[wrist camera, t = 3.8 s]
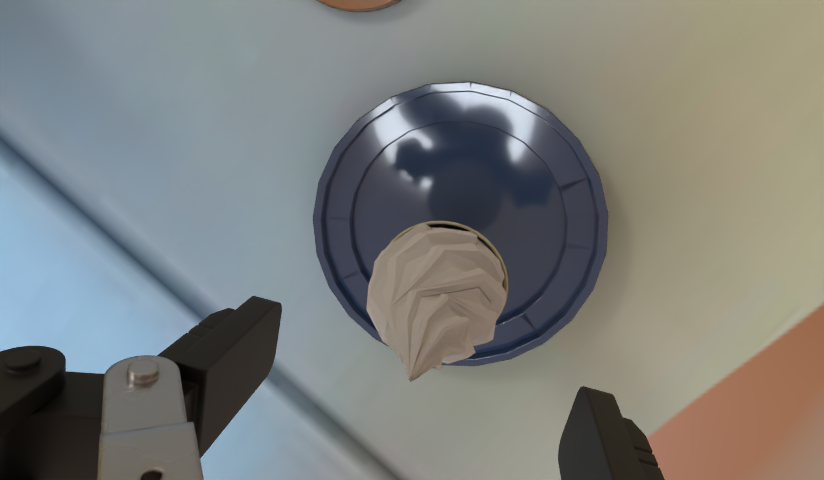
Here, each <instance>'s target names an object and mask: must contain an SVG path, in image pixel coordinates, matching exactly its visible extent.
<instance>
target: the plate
mask: <svg viewBox="0 0 824 480" xmlns="http://www.w3.org/2000/svg"><path fill="white" fill-rule="evenodd" d="M429 221H449V222H456V223H459V224H462V225H465V226H468V227H470V228H471V229H473V230H475V231H477V232H479V233H480V234H481V235H483V236H484V237H485V238H487V239H488V240H489V241H490V243H491V244H492V245H493V246H494V247H495V248H496V250H497V251H498V253H499V254H500V256H501V258H502V260H503V262H504V265H505V267H506V271H507V276H508V294H507V300H506V303H505V306H504V308H503V311H502V313H501V314H500V316H499V317H498V319H497V321H496V324H495V331H494V337H493V340H491V341H489V342H487V343H484V344H480V345H476V346H473V347H474V350H475V352H476V353H474V354H473V355H471V356H470V357H468V358H466V359H463V360H459V361H456V362H453V363H449V364H446V363H443V362H442V365H454V366H479V365H484V364H489V363H494V362H499V361H504V360H509V359H512V358H514V357H516V356H518V355H521V354H523V353H525V352H527V351H529V350H531V349H533V348H535V347H537V346H540V345H542V344H543V343H545V342H546V341H547V340H549V339H550V338H551V337H552V336H553V335H555V334H556V333H557V332H558V331H559V330H560V329H562V328H563V327H564V326H565V325H566V324H568V323H569V322H570V321H571V320H572V319H573V318H574V316H575V315H576V314H577V312H578V311H579V309H580V308H581V306H582V305H583V304H584V302H585V301H586V299H587V298H588V296H589V295H590V294H591V292H592V291H593V289H594V287H595V284H596V281H597V278H598V275H599V272H600V270H601V267H602V264H603V261H604V258H605V255H606V249H607V231H608V210H607V206H606V202H605V197H604V193H603V189H602V184H601V180H600V177H599V174H598V172H597V170H596V169H595V167H594V165H593V163H592V162H591V160H590V158H589V156H588V154H587V153H586V151H585V149H584V147H583V146H582V144H581V142H580V141H579V139H578V138H577V137H576V136H575V135H574V134H573V133H572V132H571V131H570V130H569V129H568V128H567V127H566V126H565V125H564V124H563V123H561V122H560V121H559V120H558V119H557V118H556V117H555V116H554V115H553V114H552V113H551V112H550V111H549V110H547V109H545V108H543V107H542V106H540V105H538V104H536V103H534V102H532V101H531V100H529V99H527V98H525V97H523V96H521V95H519V94H518V93H516V92H514V91H511V90H507V89H503V88H498V87H494V86H489V85H485V84H480V83H476V82H452V83H434V84H427V85H424V86H421V87H418V88H415V89H412V90H410V91H407V92H404V93H401V94H398V95H395V96H392V97H390V98H388V99H387V100H386V101H384V102H383V103H381V104H380V105H378V106H377V107H375V108H374V109H372V110H371V111H369V112H368V113H367V114H365V115H364V116H362V117H361V118H359V120H357V121H356V123H355V124H354V125H353V126H352V127H351V129H350V130H349V131H348V132H347V133H346V134H345V136H344V137H343V138H342V139H341V140H340V142H339V143H338V144H337V145H336V146H335V148H334V149H333V151H332V154H331V156H330V158H329V160H328V162H327V165H326V167H325V169H324V171H323V173H322V176H321V178H320V180H319V183H318V189H317V195H316V201H315V208H314V214H313V225H314V234H315V244H316V253H317V256H318V259H319V262H320V264H321V267H322V270H323V272H324V275H325V278H326V280H327V283H328V286H329V288H330V289H331V290H332V292H333V293H334V295H335V296H336V298H337V299H338V301H339V302H340V304H341V305H342V306H343V308H344V309H345V311H346V312H347V314H348V315H349V316H350V317H351V318H352V319H353V320H354V321H355V322H357V323H358V324H359V325H360V326H361V327H362V328H363V329H364V330H366V331H367V332H368V333H369V334H370V335H371V336H372V337H373V338H375V339H376V340H378V341H380V342H382V343H383V344H385V345H387V344H386V343H384V342H383V341H382V339H381V337H380V335H379V333H378V331H377V329H376V328H375V326H374V324H373V322H372V320H371V318H370V316H369V314H368V312H367V310H366V309H367V297H368V285H369V282H370V279H371V277H372V274H373V268H374V261H375V260H376V259H377V258H378V256H379V255H380V253H381V251H383V250H385V249H386V247H387V246H388V245H389V243H390V242H391V241H392V240H393V239H394V238H395V237H396V236H397V235H399V234H400V233H401V232H403V231H405V230H406V229H408V228H409V227H412V226H415V225H417V224H420V223H424V222H429ZM387 346H388V345H387Z"/></svg>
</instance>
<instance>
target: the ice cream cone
mask: <svg viewBox="0 0 824 480" xmlns="http://www.w3.org/2000/svg"><path fill="white" fill-rule="evenodd" d="M507 294H508V276H507V271H506V267H505V265H504V262H503V260H502V258H501V256H500V254H499V253H498V251H497V250H496V248H495V247H494V246H493V245H492V244H491V243H490V241H489V240H488V239H487V238H485V237H484V236H483V235H481V234H480V233H479V232H477V231H475V230H473V229H471V228H470V227H468V226H465V225H462V224H459V223H456V222H449V221H429V222H424V223H420V224H417V225H415V226H412V227H409V228H408V229H406V230H405V231H403V232H401V233H400V234H399V235H397V236H396V237H395V238H394V239H393V240H392V241H391V242H390V243H389V245H388V246H387V247H386V249H385V250H383V251H381V253H380V255H379V256H378V258H377V259H376V260H375V261H374V268H373V274H372V277H371V279H370V282H369V285H368V297H367V309H366V310H367V312H368V314H369V316H370V318H371V320H372V322H373V324H374V326H375V328H376V329H377V331H378V333H379V335H380V337H381V339H382V341H383V342H384V343H386V344H387V345H388V346H389V347H390V348H391V349H392V350H393V351H394V352H395V353H396V354H398V355H399V357H400V359H401V361H402V362H403V364H404V366H405V369H406V371H407V374H408V376H409V380H410V381H411V380H415V379H416V378H418V377H419V376H420V375H422V374H423V373H425V372H427V371H428V370H430V369H432V368H435V369H438V370H439V369H441V368H442V362H443V363H446V364H449V363H453V362H456V361H459V360H463V359H466V358H468V357H470V356H471V355H473V354H474V353H476V352H475V350H474V347H473V346H476V345H480V344H484V343H487V342H489V341H491V340H493V337H494V331H495V324H496V321H497V319H498V317H499V316H500V314H501V313H502V311H503V308H504V306H505V303H506V300H507Z"/></svg>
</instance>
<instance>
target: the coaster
mask: <svg viewBox="0 0 824 480" xmlns="http://www.w3.org/2000/svg"><path fill="white" fill-rule="evenodd" d="M317 1H319V2H321V3H324V4H326V5H328V6H330V7H333V8H336V9H340V10H344V11H352V12H367V11H373V10H378V9H382V8H385V7H388V6H390V5H392V4H395V3H397V2H399V1H400V0H317Z"/></svg>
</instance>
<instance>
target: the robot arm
mask: <svg viewBox="0 0 824 480" xmlns="http://www.w3.org/2000/svg"><path fill="white" fill-rule="evenodd" d="M281 312H282V306H281V303H279V302H275V301H271V300H268V299H264V298H260V297H257V296H252V297H251V298H249V299H248V300H247V301H246V302H245V303H243V304H242V305H241V306H240V307H239V308H237V309H236V310H234V309H231V308H227V309H224V310H221V311H218V312H216V313H213V314H210V315H209V316H208V317H207V318H205V319H204V320H203V321H201V322H200V323H199V325H196V326H195V327H194V328H192V329H191V330H190V331H189V333H186V334H185V335H183V336H182V337H181V338H179V339H178V340H177V341H176V342H174V343H173V344H172V345H170V346H169V347H168V348H166V349H165V350H164V351H163V352H161V353H160V354H159V355H157V356H150V355H144V356H135V357H130V358H127V359H123V360H121V361H119V362H117V363H115V364H113V365H112V366H111V367H110V368H109V369H108V370H107V371H106V373H105V374H95V373H80V372H66V359H65V356H64V355H63V354H62V353H61V352H60V351H58V350H56V349H53V348H50V347H45V346H23V347H16V348H12V349H8V350H4V351H1V352H0V480H204V479H203V473H202V467H201V461H200V458H201V457H202V456H203V455H204V453H205V452H206V451H207V450H208V448H209V447H210V446H211V445H212V443H213V442H214V441H215V440H216V439H217V437H218V436H219V435H220V434H221V432H222V431H223V430H224V429H225V427H226V426H227V425H228V424H229V423H230V421H231V420H232V419H233V418H234V416H235V415H236V414H237V413H238V411H239V410H240V409H241V408H242V406H243V405H244V404H245V403H246V402H247V400H248V399H249V398H250V397H251V395H252V394H253V393H254V392H255V390H256V389H257V388H258V387H259V386H260V384H261V383H262V382H263V381H264V379H265V378H266V377H267V375H268V374H269V372H270V370H271V367H272V365H273V362H274V358H275V353H276V347H277V340H278V333H279V326H280V320H281ZM558 462H559V468H560V474H561V480H665V479H664V477H663V475H662V473H661V470H660V468H658V463H657V461H656V459H655V456H654V455H653V454H652V449H651V447H650V445H649V442H648V440H647V438H646V436H645V435H644V433H643V432H642V431H641V430H640V429H639V428H638V427H637V426H636V425H635V423H634V422H633V421H632V420H630V419H626V418H623V417H622V415H621V413H620V410H619V407H618V405H617V402H616V400H615V397H614V395H613V394H610V393H606V392H602V391H599V390H595V389H591V388H588V387H584V386H582V387H581V388H580V389H579V391H578V393H577V395H576V398H575V401H574V403H573V406H572V409H571V412H570V414H569V417H568V420H567V423H566V425H565V428H564V431H563V434H562V436H561V440H560V444H559V452H558Z"/></svg>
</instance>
